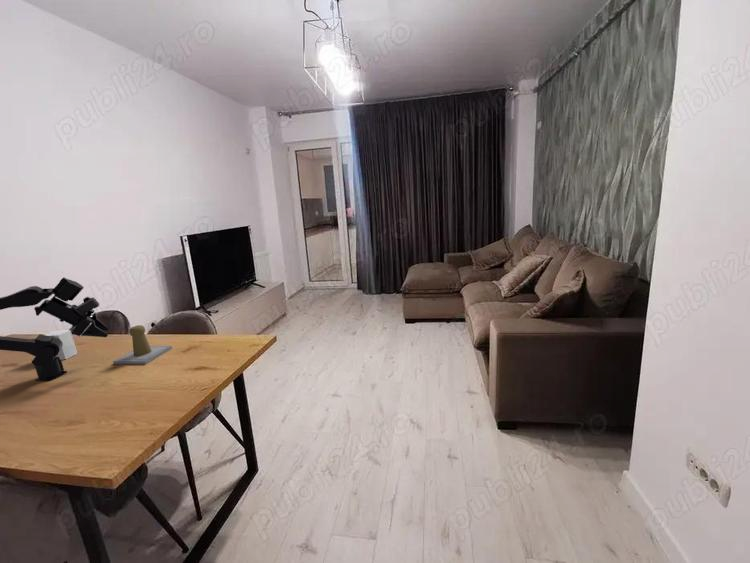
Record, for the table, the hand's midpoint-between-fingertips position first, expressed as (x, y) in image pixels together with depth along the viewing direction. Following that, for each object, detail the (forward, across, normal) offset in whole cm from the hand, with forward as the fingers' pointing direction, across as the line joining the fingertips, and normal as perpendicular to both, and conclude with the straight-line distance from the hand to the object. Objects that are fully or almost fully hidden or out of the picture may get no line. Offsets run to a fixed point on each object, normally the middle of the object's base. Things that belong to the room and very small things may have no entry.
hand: (107, 332), depth 138 cm
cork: (+14, -3, 0) cm, 14 cm away
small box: (-4, +22, +21) cm, 30 cm away
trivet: (+15, -4, +1) cm, 15 cm away
